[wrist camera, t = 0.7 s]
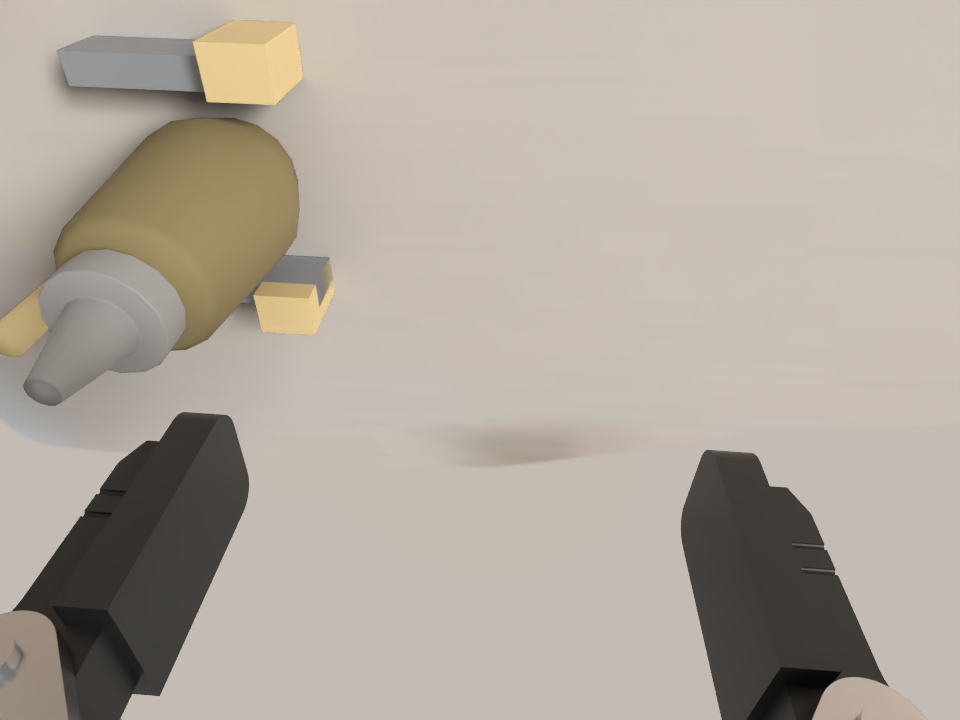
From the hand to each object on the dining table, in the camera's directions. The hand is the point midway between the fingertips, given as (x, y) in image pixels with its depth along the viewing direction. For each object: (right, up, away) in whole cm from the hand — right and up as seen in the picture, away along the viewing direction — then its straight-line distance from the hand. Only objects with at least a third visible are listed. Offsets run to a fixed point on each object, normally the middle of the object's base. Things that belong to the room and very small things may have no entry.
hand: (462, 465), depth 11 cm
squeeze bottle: (-12, +12, +23) cm, 29 cm away
